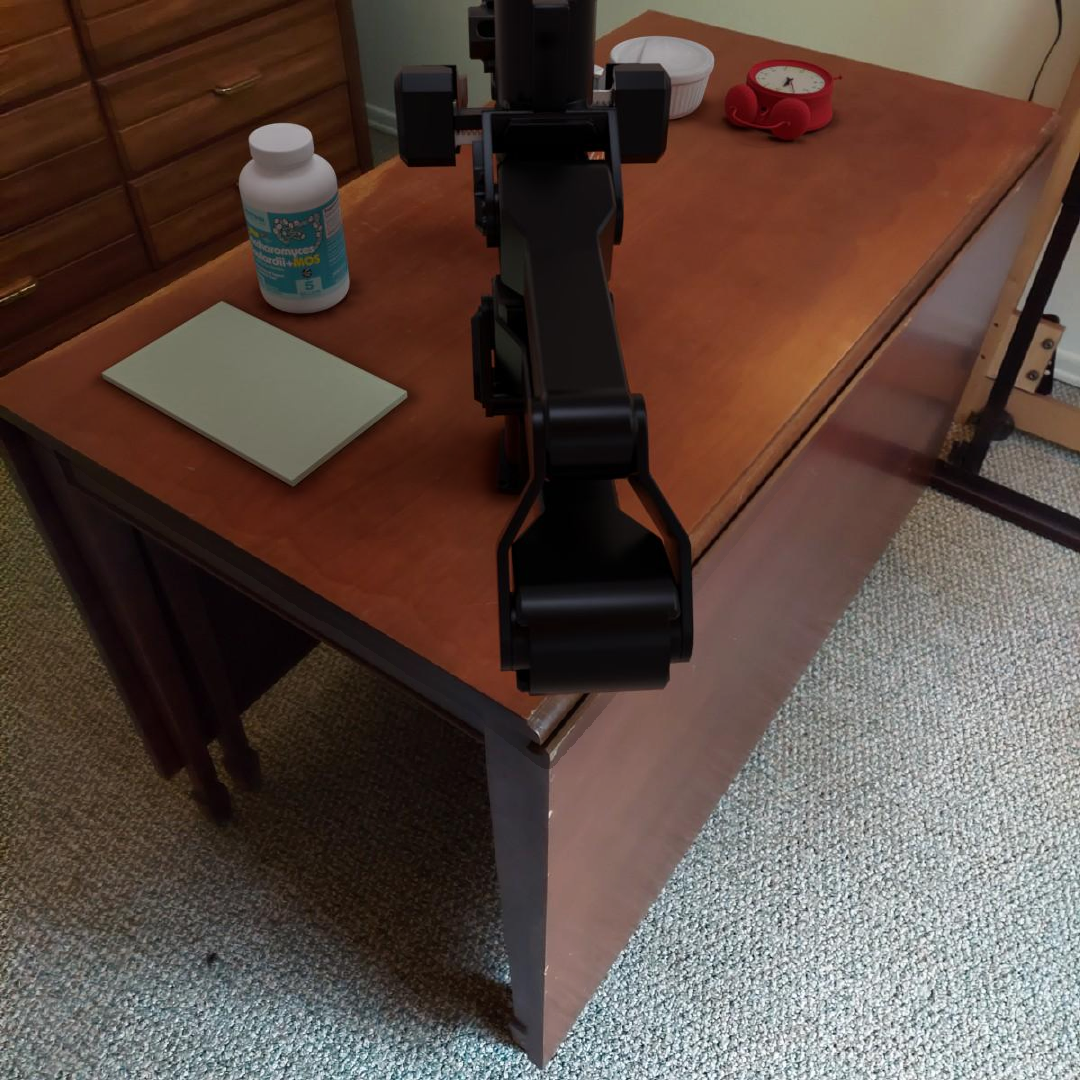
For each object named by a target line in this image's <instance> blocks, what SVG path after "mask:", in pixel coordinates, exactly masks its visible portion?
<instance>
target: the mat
mask: <svg viewBox="0 0 1080 1080" xmlns="http://www.w3.org/2000/svg"><path fill="white" fill-rule="evenodd" d="M101 376H102V378H103V380H105V381H106V382H109V383H110V384H112V385H114V386H115V387H117V388H119V389H121V390H122V391H124V392H126V393H128V394H129V395H131V396H133V397H134V398H137V399H138V400H140V401H141V402H143V403H145V404H146V405H148V406H151V407H153V408H154V409H156V410H158V411H159V412H161V413H163V414H164V415H166V416H168V417H170V418H171V419H173V420H175V421H176V422H178V423H180V424H181V425H184V426H186V427H187V428H189V429H191V430H192V431H194V432H196V433H197V434H199V435H202V436H203V437H204V438H207V439H208V440H210V441H212V442H213V443H215V444H217V445H219V446H220V447H222V448H224V449H226V450H228V451H229V452H231V453H232V454H235V455H236V456H238V457H240V458H242V459H244V460H245V461H247V462H249V463H250V464H252V465H254V466H256V467H258V468H260V469H261V470H263V471H265V472H266V473H268V474H270V475H272V476H273V477H275V478H277V479H278V480H280V481H282V482H283V483H286V484H287V485H288V486H291V487H295V486H296V485H297V484H299V483H300V482H301V481H303V480H304V479H305V478H306V477H308V476H309V475H311V474H312V473H313V472H314V471H315V470H317V469H318V468H320V467H321V466H322V465H323V464H325V463H326V462H327V461H328V460H330V459H331V458H333V457H334V456H335V455H336V454H338V453H339V452H340V451H341V450H343V449H344V448H345V447H346V446H348V444H350V443H352V442H353V441H354V440H355V439H357V438H358V437H359V436H360V435H361V434H363V433H364V432H365V431H367V430H368V429H369V428H370V427H372V426H373V425H374V424H375V423H377V422H378V421H379V420H381V419H382V418H383V417H385V416H386V415H387V414H388V413H390V412H392V411H393V409H395V408H396V407H397V406H398V405H400V404H401V403H402V402H404V401H405V400H406V399H408V392H407V390H405V389H403V388H401V387H399V386H397V385H394V384H392V383H390V382H388V381H386V380H384V379H382V378H380V377H379V376H376V375H374V374H372V373H370V372H368V371H367V370H364V369H362V368H360V367H357V366H355V365H354V364H352V363H349V362H348V361H346V360H344V359H341V358H339V357H338V356H335V355H334V354H331V353H329V352H327V351H325V350H323V349H321V348H319V347H316V346H315V345H313V344H311V343H308V342H306V341H305V340H302V339H301V338H299V337H296V336H294V335H292V334H290V333H288V332H286V331H284V330H282V329H281V328H278V327H276V326H274V325H272V324H269V323H268V322H266V321H263V320H261V319H259V318H257V317H255V316H253V315H251V314H249V313H247V312H246V311H243V310H241V309H239V308H237V307H235V306H233V305H230V304H229V303H227V302H225V301H222V300H221V301H219V302H217V303H215V304H214V305H212V306H210V307H209V308H207V309H206V310H204V311H202V312H201V313H199V314H197V315H196V316H194V317H192V318H191V319H189V320H187V321H186V322H184V323H182V324H181V325H179V326H178V327H176V328H174V329H172V330H171V331H169V332H168V333H166V334H164V335H162V336H161V337H159V338H157V339H155V340H154V341H153V342H151V343H149V344H148V345H145V346H143V347H142V348H141V349H139V350H137V351H136V352H134V353H132V354H130V355H129V356H128V357H126V358H124V359H122V360H121V361H119V362H117V363H115V364H114V365H112V366H110V367H109V368H106V370H103V371H102V372H101Z"/></svg>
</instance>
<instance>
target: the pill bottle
mask: <svg viewBox="0 0 1080 1080" xmlns="http://www.w3.org/2000/svg"><path fill="white" fill-rule="evenodd" d="M313 139H314V138H313V134H312V132H311V131H310V130H309V129H308V128H307V127H305V126H303V125H300V124H296V123H289V122H278V123H271V124H267V125H263V126H259V127H258V128H256V129H254V130H253V131H252V132H251V133H250V134H249V136H248V145H249V152H250V157H251V158H252V159H251V160H249V161H247V163H246V164H245V166H243V168H242V170H241V171H240V174H239V178H238V189H239V193H240V199H241V204H242V208H243V213H244V218H245V223H246V228H247V233H248V238H249V243H250V245H251V250H252V251H251V252H252V256H253V261H254V265H255V270H256V276H257V280H258V285H259V289H260V293H261V295H262V297H263V298H264V300H265V302H267V304H269V305H270V306H272V307H273V308H275V309H277V310H280V311H282V312H286V313H291V314H313V313H318V312H322V311H326V310H327V309H330V308H332V307H334V306H336V305H338V303H340V302H341V301H342V300H343V299H344V298H345V297H346V295H347V294H348V291H349V289H350V284H351V283H350V282H351V281H350V273H349V272H350V271H349V264H348V256H347V249H346V240H345V233H344V225H343V219H342V211H341V210H342V209H341V203H340V193H339V187H338V179H337V175H336V173H335V170H334V168H333V167H332V165H331V164H330V163H329V162H328V161H327V159H325V158H323V157H322V156H320V155H319V154H316V153H315V146H314V140H313Z"/></svg>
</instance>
